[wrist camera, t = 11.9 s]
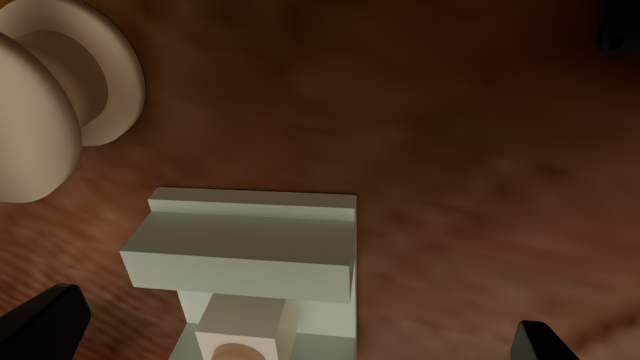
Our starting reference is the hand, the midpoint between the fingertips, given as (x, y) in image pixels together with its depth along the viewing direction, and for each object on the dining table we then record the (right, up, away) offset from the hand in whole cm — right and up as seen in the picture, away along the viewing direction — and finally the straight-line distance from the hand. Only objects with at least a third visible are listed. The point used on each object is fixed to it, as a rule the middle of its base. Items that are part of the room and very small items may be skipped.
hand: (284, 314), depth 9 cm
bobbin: (-11, +8, +12) cm, 18 cm away
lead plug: (-3, -4, +17) cm, 17 cm away
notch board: (-2, -3, +18) cm, 18 cm away
